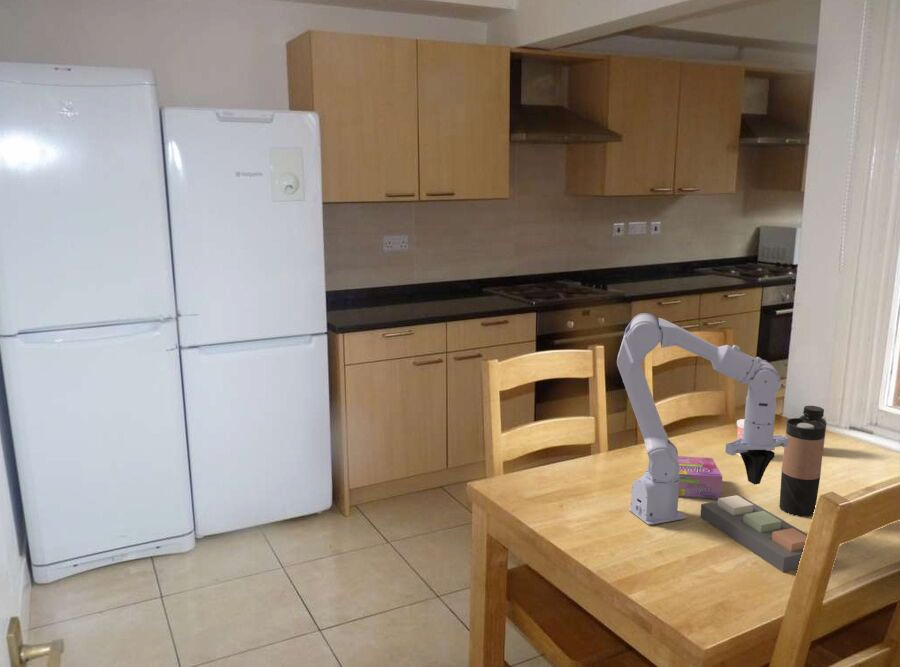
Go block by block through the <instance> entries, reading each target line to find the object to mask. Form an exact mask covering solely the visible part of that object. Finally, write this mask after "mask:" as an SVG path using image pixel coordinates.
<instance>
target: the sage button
mask: <svg viewBox="0 0 900 667" xmlns="http://www.w3.org/2000/svg"><path fill="white" fill-rule="evenodd" d="M743 522H744V523H745V524H747V525H749V526H750V527H752V528H753V529H755V530H757V531H758V532H760V533H763V532H768V531H773V530H779V529H781V523H782V521H780V520H779V519H777V518H775V517H773V516H772V515H770V514H768V513H767V512H765V511H760V512H754V513H749V514H744V519H743Z"/></svg>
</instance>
